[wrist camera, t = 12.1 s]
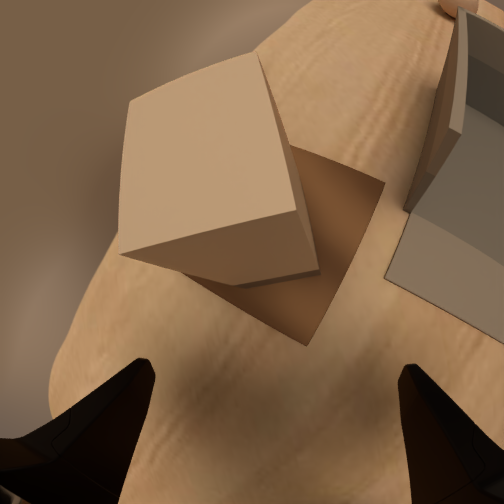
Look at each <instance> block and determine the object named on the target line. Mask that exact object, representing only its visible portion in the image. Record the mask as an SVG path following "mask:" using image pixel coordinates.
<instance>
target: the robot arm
mask: <svg viewBox="0 0 504 504" xmlns="http://www.w3.org/2000/svg"><path fill="white" fill-rule="evenodd" d="M154 382H155V372H154V370H153V367H152V365H151V363H150V361H149V360H148V359H144V358H137V359H136V360H134V361H133V362H132V363H130V364H129V365H128V366H126V367H125V368H124V369H122V370H121V371H119V372H118V373H117V374H115V375H114V376H113V377H111V378H110V379H109V380H107V381H106V382H105V383H103V384H102V385H101V386H99V387H98V388H97V389H95V390H94V391H92V392H91V393H90V394H88V395H87V396H86V397H84V398H83V399H82V400H80V401H79V402H78V403H76V404H75V405H73V406H72V407H71V408H69V409H68V410H66V411H65V412H64V413H62V414H61V415H59V416H58V417H56V418H55V419H53V420H52V421H50V422H48V423H47V424H45V425H43V426H42V427H40V428H38V429H36V430H34V431H33V432H31V433H29V434H27V435H25V436H23V437H20V438H15V439H6V438H0V504H118V502H119V497H120V494H121V491H122V488H123V485H124V481H125V478H126V475H127V472H128V469H129V466H130V463H131V460H132V457H133V453H134V450H135V447H136V445H137V442H138V439H139V436H140V433H141V430H142V427H143V424H144V421H145V418H146V415H147V412H148V408H149V404H150V400H151V395H152V391H153V387H154ZM398 392H399V402H400V416H401V424H402V430H403V436H404V442H405V448H406V455H407V462H408V470H409V478H410V488H411V499H412V504H504V450H503V449H501V448H500V447H499V446H498V445H497V444H496V443H495V442H493V441H492V440H491V439H490V438H489V437H488V436H487V435H486V434H485V433H484V432H483V431H482V430H481V429H480V428H479V427H478V426H477V425H476V424H475V423H474V422H473V421H472V420H471V418H470V417H469V416H468V415H467V414H466V413H465V412H464V411H463V410H462V409H461V408H460V407H459V406H458V405H457V404H456V403H455V402H454V401H453V400H452V399H451V398H450V397H449V396H448V395H447V394H446V393H445V392H444V391H443V390H442V389H441V388H440V387H439V386H438V385H437V384H436V383H435V382H434V381H433V380H432V379H431V378H430V377H429V376H428V375H427V374H426V373H425V372H424V371H423V370H422V369H421V368H420V367H419V366H418V365H417V364H407V365H405V366H404V368H403V370H402V372H401V375H400V377H399V379H398Z"/></svg>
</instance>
